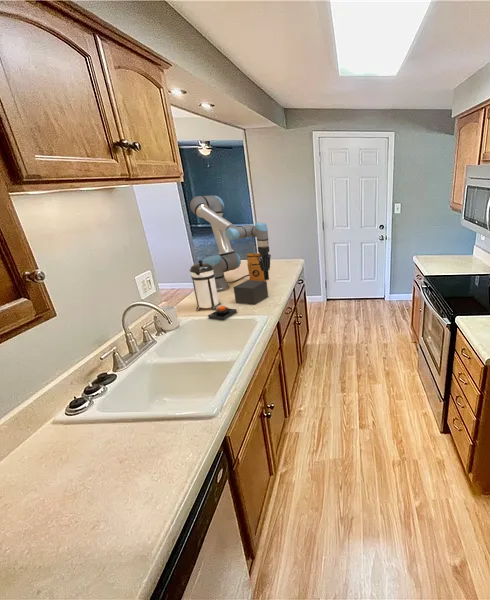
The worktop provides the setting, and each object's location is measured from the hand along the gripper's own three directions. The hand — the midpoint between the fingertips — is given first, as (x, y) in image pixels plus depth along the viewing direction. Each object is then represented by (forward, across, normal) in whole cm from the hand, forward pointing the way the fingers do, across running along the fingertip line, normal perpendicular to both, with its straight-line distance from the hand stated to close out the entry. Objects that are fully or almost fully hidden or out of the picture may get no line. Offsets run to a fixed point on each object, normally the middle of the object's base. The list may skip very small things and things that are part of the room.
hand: (266, 279), depth 231 cm
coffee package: (+9, +18, +20) cm, 28 cm away
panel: (+8, -48, 0) cm, 48 cm away
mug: (+8, -68, +17) cm, 71 cm away
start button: (+4, -48, 0) cm, 48 cm away
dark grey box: (+8, -20, -1) cm, 21 cm away
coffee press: (+8, -38, +18) cm, 43 cm away
